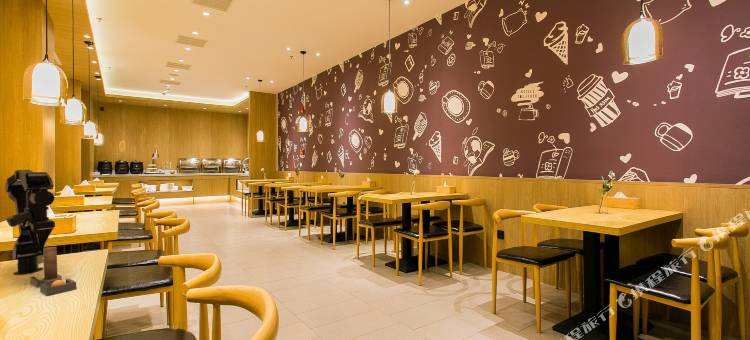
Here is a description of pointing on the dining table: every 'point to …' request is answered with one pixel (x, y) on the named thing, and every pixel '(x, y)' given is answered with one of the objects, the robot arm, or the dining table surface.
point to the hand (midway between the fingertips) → (38, 245)
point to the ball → (57, 283)
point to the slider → (50, 266)
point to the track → (37, 281)
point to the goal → (58, 288)
